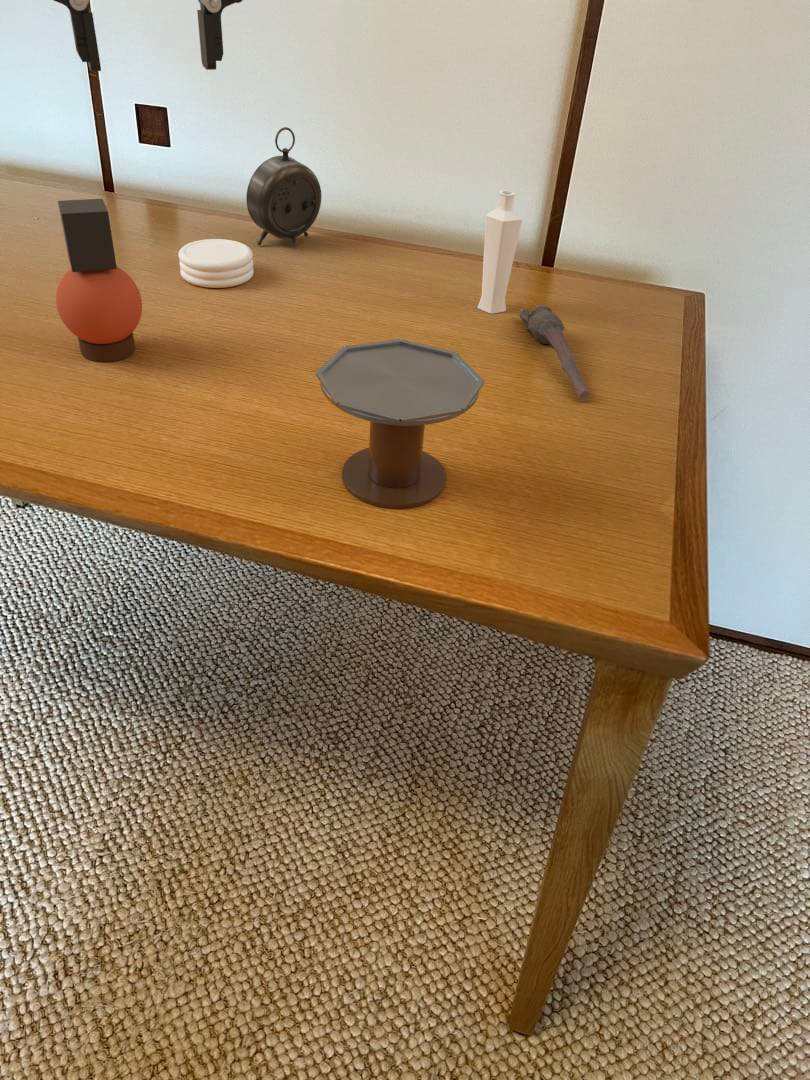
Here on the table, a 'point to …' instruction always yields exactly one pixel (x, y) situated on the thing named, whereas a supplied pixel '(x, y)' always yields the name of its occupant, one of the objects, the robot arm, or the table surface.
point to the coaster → (216, 263)
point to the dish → (397, 414)
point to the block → (87, 235)
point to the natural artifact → (555, 342)
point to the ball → (100, 312)
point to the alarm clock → (283, 196)
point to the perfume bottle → (499, 252)
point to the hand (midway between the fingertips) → (153, 68)
